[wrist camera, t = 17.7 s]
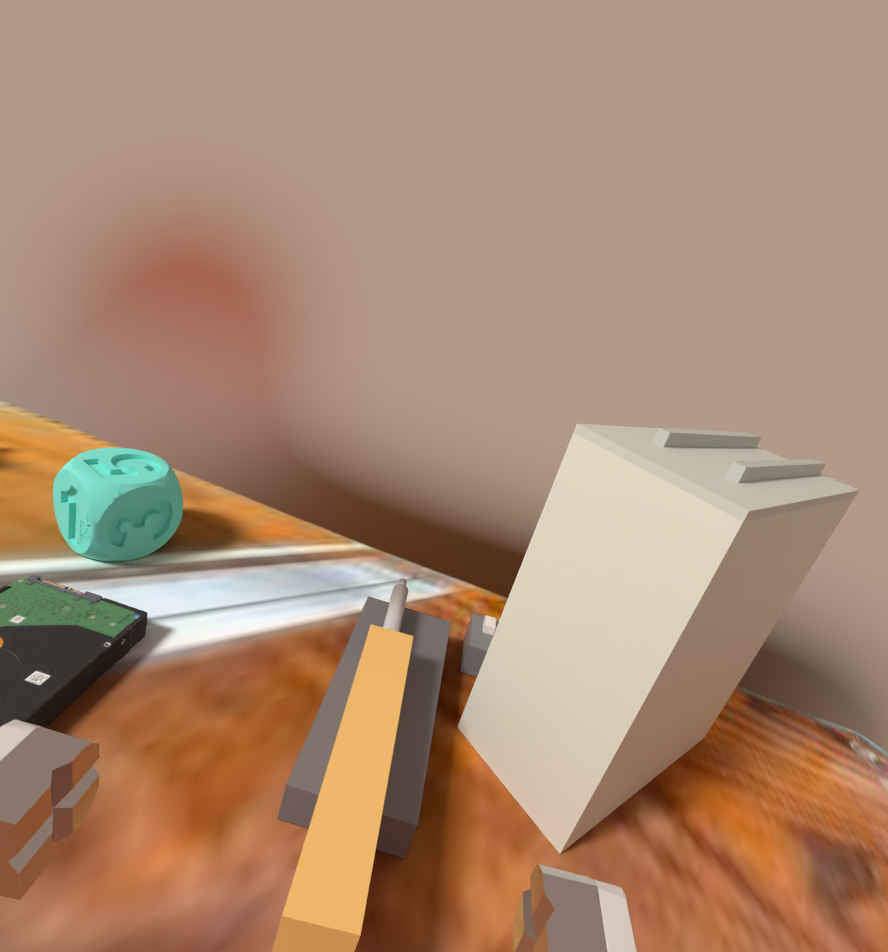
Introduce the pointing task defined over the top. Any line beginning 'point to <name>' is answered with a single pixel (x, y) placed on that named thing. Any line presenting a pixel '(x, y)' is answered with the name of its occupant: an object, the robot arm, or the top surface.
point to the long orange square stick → (350, 800)
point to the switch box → (477, 643)
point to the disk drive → (57, 646)
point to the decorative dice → (117, 503)
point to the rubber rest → (410, 732)
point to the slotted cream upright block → (640, 611)
